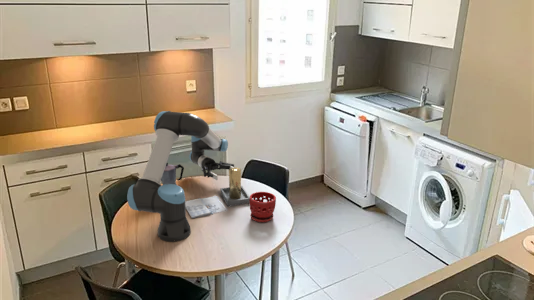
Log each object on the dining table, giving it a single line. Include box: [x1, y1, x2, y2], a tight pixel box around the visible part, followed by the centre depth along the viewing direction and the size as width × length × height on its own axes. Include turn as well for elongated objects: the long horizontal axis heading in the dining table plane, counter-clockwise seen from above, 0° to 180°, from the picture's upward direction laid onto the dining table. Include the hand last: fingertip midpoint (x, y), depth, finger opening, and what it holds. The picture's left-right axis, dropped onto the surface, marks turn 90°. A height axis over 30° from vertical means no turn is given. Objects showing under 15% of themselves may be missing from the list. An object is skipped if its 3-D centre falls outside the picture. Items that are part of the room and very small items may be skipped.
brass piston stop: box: [228, 166, 242, 199], centre depth 231 cm, size 6×6×16 cm
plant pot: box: [248, 191, 277, 223], centre depth 212 cm, size 13×13×12 cm
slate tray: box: [220, 185, 250, 207], centre depth 233 cm, size 17×13×3 cm
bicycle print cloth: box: [185, 195, 228, 219], centre depth 223 cm, size 19×20×2 cm
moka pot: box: [160, 162, 185, 185], centre depth 232 cm, size 10×15×20 cm, turn 115°
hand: (227, 174), depth 235 cm, fingers open, 13 cm apart
